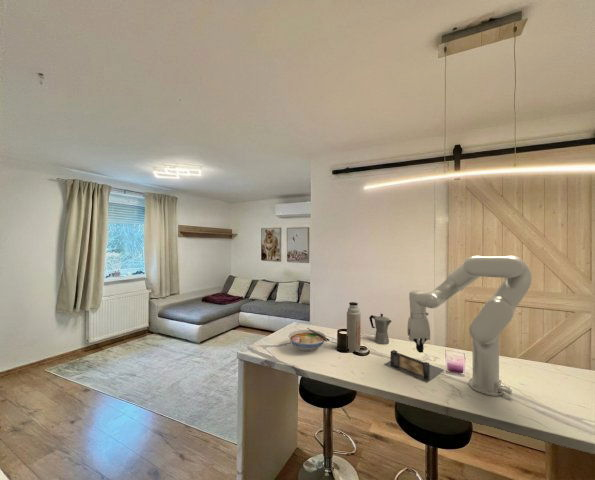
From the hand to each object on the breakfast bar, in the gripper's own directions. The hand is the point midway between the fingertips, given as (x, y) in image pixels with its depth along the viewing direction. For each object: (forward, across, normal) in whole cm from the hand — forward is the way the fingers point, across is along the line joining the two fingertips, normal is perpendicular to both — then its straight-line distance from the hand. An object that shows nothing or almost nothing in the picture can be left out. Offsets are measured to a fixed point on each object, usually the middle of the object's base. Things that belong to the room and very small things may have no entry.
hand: (420, 351), depth 133 cm
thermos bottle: (+7, +29, -23) cm, 37 cm away
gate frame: (+8, +4, -1) cm, 9 cm away
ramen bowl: (+6, +56, -27) cm, 62 cm away
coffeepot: (+7, +8, -36) cm, 37 cm away
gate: (+7, +7, +3) cm, 11 cm away
